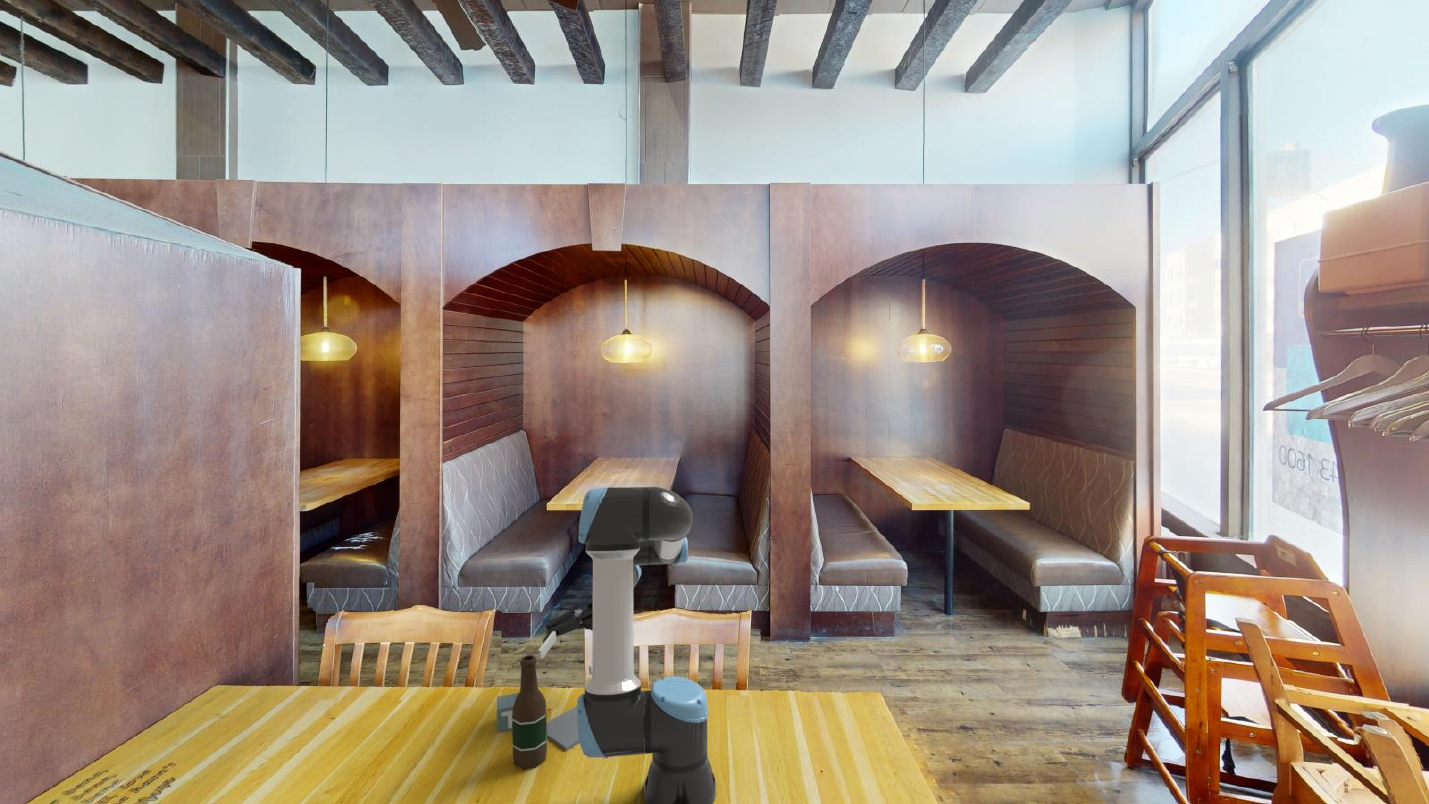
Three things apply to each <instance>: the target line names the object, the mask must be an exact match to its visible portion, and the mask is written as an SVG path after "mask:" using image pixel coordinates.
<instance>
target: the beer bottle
mask: <svg viewBox="0 0 1429 804" xmlns="http://www.w3.org/2000/svg"><path fill="white" fill-rule="evenodd" d="M536 664H537V657H536V656H535V655H533V654H529V655H527V654H526V655H524V656H522V657H521V659H520V663H519V665H520V667H521V668H520V684H519V685H520V688H519V692H518V693H519V694H518V695H517V697H516V700H515V703H514V707H513V711H512V730H511V732H512V760H513V765H514V766H515V767H516V768H519V769H520V770H529V769H536V768H538V767H539V766H540V765H542V764H544V763H545V761H546V760H547V754H548V753H547V751H548V738H547V722H548V721H547V719H548V718H547V702H546V698H545V696H544V693H542V691H541V690H540V689H539V686H538V678H537V676H538V675H537V667H536Z"/></svg>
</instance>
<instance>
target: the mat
mask: <svg viewBox="0 0 1429 804" xmlns="http://www.w3.org/2000/svg"><path fill="white" fill-rule="evenodd" d="M548 739H549V740H550V741H551V742H553V743H555V744H556V745H557V746H559V747H560V748H561V749H562V750H565V751H568V750H571V749H572V748H574V747H575V746H577V745H578V744H579V745H580V741H579V734H578V724H577V705H576V706H574V707H572V708H569V710H566V711H564V712H563V713H560V714H559V715H558V716H555V717H554V718H552V719H550V720H548V721H547V740H548Z"/></svg>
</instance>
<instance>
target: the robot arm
mask: <svg viewBox="0 0 1429 804" xmlns="http://www.w3.org/2000/svg"><path fill="white" fill-rule="evenodd" d="M693 518H694V517H693V511H692V509H691V507H690V505H689V504H688V502H687V501H686V500H685V499H684V498H683V497H681V496H680V495H679V494H677V493H675V492H674V491H672V490H669V489H667V488H663V487H660V486H633V487H632V486H631V487H621V486H620V487H609V486H608V487H598V488H592V489H589V490H588V491H587V492H586V493H585V496H584V498H583V502H582V506H581V512H580V518H579V524H578V525H579V526H578V542H579V543H581V544H585V552H586V554H587V555H588V556H589V557H590V558H591V559H592V599H591V600H590V601H589V603H588V605H587V606H586V608H585V609H583V610H582V609H579V607H578V605H574V606H572V608H571V609H570V610H568V611H566V612H565V613H564V614H561V615H560V616H559V617H556V618H554V619H553V620H551V621H548V623H546V624H545V634H546V635H545V636H544V637H543V639H542V645H541V646H540V648H539V649H538V658H539V659H540V660H542V659H544V657H545V656H546V654H547V653H548V652H549V650H550V649H551V648H552V647H553V646H554V643H556V641H557V637H559V636H563V635H564V634H567V633H570V632H572V631H575V630H581V629H584V630H588V631H589V630H590V631H592V644H591V645H592V647H591V649H592V655H591V656H592V658H591V659H592V660H591V661H590V663H589V664H588V675H590V676H591V679H589V681H588V682H587V683H586V684H585V686H584V693H582V694H580V695H579V696H578V697H577V701H576V706H577V724H578V734H579V741H580V743H579V745H580V749H581V751H582V753H583V754H584V756H586V757H587V758H589V759H590V758H603V759H608V758H614V757H626V756H627V757H628V756H638V755H639V756H640V755H646V754H647V755H648V754H652V755H651V757H652V758H651V761H650V765H649V767H648V772H647V775H646V777H645V780H644V785H643V799H644V802H645V804H714V802H715V800H716V796H717V792H716V791H717V783H716V782H717V781H716V777H715V774H714V773H713V770H712V769H713V768H712V765H711V763H710V759H709V756H708V755H709V754H708V747H709V746H708V743H709V742H708V717H709V709H708V697H707V693H706V692H705V690H704V688H703V687H702V686H701V685H700V684H698V683H697V682H695V681H694V680H692V679H689V678H685V677H682V676H666V677H663V678H661V679H658V680H656V681H655V682H653V685H652V687H651V688H650V690H642V681H641V680H640V679H639V678H638V677H637V676H636V675H635V673H634V672H635V668H634V667H635V665H634V663H635V659H634V658H635V657H634V656H635V655H634V653H635V652H634V651H635V650H634V649H635V648H634V641H635V639H634V633H635V632H634V631H635V630H634V588H635V587H636V585H637V583H639V580H640V578H641V576H642V567H640V566H644V565H645V566H647V565H648V566H649V565H672V564H673V565H678V564H684V563H687V562H688V557H689V544H688V538H687V536H688V535H689V533H690V532H691V529H692V526H693V522H694V519H693Z"/></svg>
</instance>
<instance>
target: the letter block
mask: <svg viewBox="0 0 1429 804" xmlns="http://www.w3.org/2000/svg"><path fill="white" fill-rule="evenodd" d="M518 694H519V692H516V693H510V694H509V693H508V694H506V695H505V694H504V695H500V696H499V695H498V696H497V697H496V726H497V727H496V730H497V733H503V732H508V731H512V711H513V707H514V703H515V700H516V697H517V695H518Z"/></svg>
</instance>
